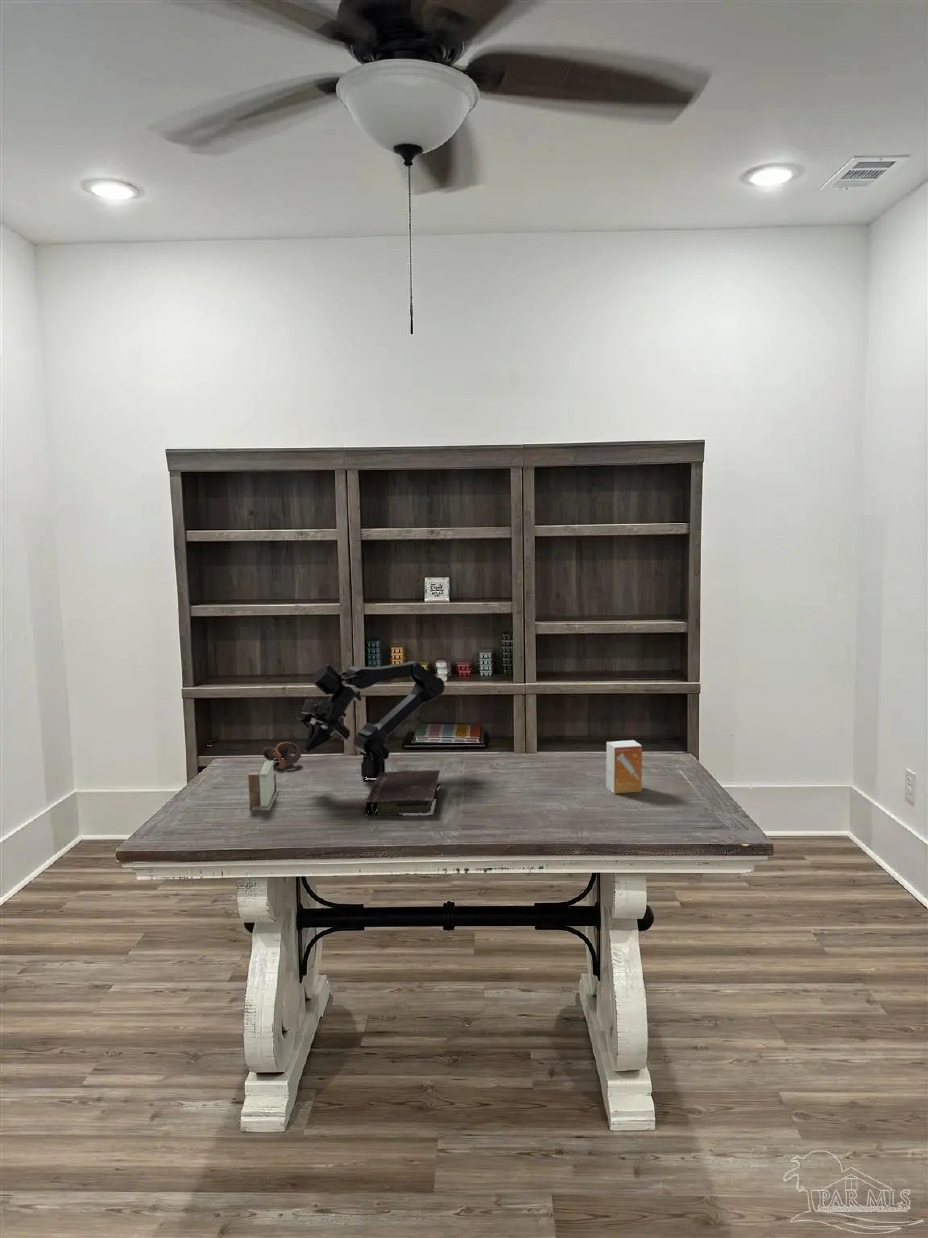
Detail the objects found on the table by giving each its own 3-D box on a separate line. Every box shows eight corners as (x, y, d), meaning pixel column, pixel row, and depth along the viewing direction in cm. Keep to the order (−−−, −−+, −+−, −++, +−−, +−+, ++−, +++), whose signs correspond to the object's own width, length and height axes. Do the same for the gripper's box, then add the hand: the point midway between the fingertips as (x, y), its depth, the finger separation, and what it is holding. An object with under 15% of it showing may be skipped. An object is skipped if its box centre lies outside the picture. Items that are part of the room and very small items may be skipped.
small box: (614, 794, 235) (614, 747, 233) (605, 787, 241) (605, 741, 239) (642, 792, 236) (642, 745, 235) (633, 785, 243) (633, 739, 241)
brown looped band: (301, 761, 274) (305, 742, 270) (294, 782, 266) (298, 763, 262) (263, 753, 273) (266, 733, 269) (256, 774, 265) (259, 754, 261)
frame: (279, 790, 244) (278, 759, 242) (269, 810, 227) (268, 776, 226) (259, 791, 243) (258, 759, 242) (248, 811, 227) (246, 777, 226)
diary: (363, 819, 221) (362, 800, 221) (377, 788, 246) (376, 771, 246) (436, 818, 220) (435, 799, 220) (443, 787, 245) (442, 770, 245)
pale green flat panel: (267, 790, 240) (266, 760, 239) (274, 790, 240) (273, 760, 239) (260, 806, 227) (258, 774, 226) (268, 806, 227) (266, 774, 226)
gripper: (300, 683, 247) (268, 729, 240) (339, 692, 233) (306, 740, 227) (325, 706, 253) (294, 750, 247) (364, 716, 239) (332, 763, 233)
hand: (305, 751), depth 238 cm, fingers closed
